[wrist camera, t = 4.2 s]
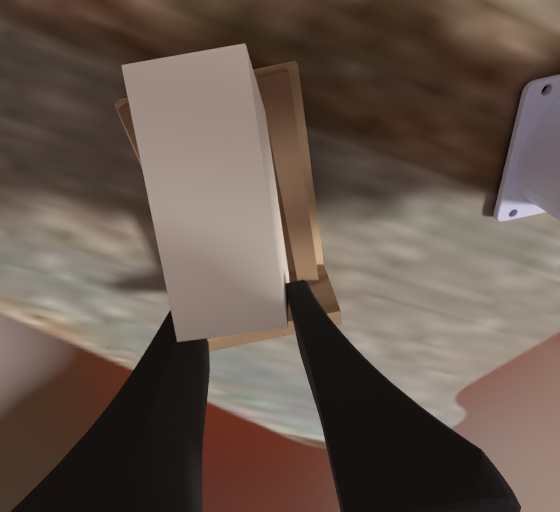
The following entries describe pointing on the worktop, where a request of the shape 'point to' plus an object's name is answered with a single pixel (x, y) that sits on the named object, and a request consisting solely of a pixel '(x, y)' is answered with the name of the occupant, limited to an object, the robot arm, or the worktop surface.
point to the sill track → (282, 191)
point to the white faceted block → (211, 191)
